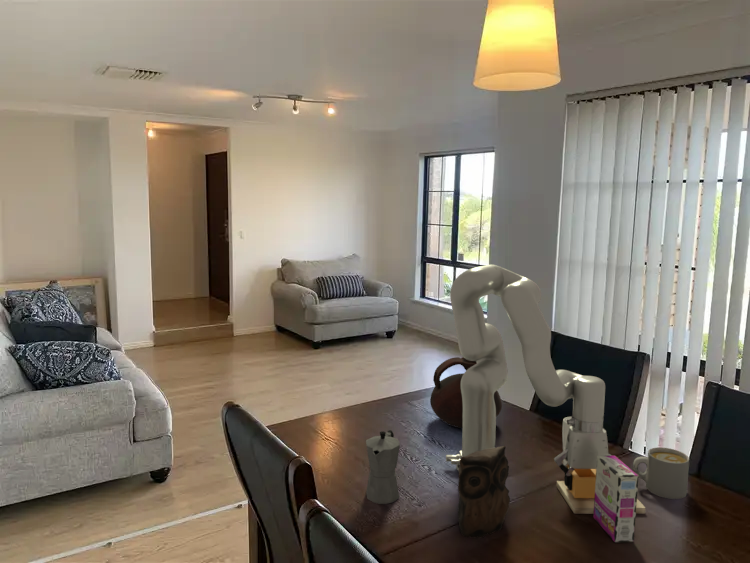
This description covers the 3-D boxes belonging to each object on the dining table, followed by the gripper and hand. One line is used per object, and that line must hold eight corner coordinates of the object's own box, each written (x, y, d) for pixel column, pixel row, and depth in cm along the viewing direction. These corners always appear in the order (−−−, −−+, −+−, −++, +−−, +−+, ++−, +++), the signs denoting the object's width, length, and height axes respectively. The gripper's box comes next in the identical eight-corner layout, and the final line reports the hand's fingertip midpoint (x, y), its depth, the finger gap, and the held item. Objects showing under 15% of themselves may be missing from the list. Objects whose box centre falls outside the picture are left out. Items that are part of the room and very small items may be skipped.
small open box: (574, 497, 146) (575, 479, 145) (565, 483, 153) (566, 466, 153) (603, 498, 146) (604, 479, 145) (592, 483, 153) (593, 466, 153)
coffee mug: (687, 486, 156) (690, 452, 155) (684, 502, 148) (687, 466, 147) (635, 474, 164) (637, 441, 162) (629, 489, 155) (632, 454, 154)
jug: (431, 408, 216) (432, 344, 213) (498, 411, 213) (500, 347, 210) (428, 434, 192) (429, 363, 189) (504, 438, 188) (506, 366, 185)
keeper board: (574, 513, 143) (575, 492, 142) (556, 486, 157) (557, 466, 156) (645, 513, 143) (646, 492, 142) (621, 486, 157) (622, 466, 156)
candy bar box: (635, 542, 131) (640, 475, 129) (614, 543, 130) (618, 476, 128) (611, 516, 142) (615, 454, 140) (592, 517, 141) (595, 454, 139)
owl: (510, 519, 141) (512, 442, 138) (502, 547, 129) (504, 464, 126) (460, 509, 145) (461, 434, 142) (447, 535, 134) (449, 455, 131)
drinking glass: (586, 475, 163) (589, 426, 161) (562, 473, 164) (564, 424, 162) (582, 465, 169) (585, 417, 167) (559, 463, 171) (561, 415, 169)
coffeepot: (392, 511, 144) (393, 444, 142) (358, 505, 147) (357, 439, 145) (407, 482, 159) (408, 421, 156) (375, 478, 162) (375, 417, 159)
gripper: (558, 429, 143) (555, 495, 146) (627, 429, 143) (622, 495, 146) (549, 418, 151) (546, 481, 153) (614, 418, 151) (610, 481, 153)
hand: (583, 487), depth 150 cm, fingers closed on small open box, 7 cm apart
